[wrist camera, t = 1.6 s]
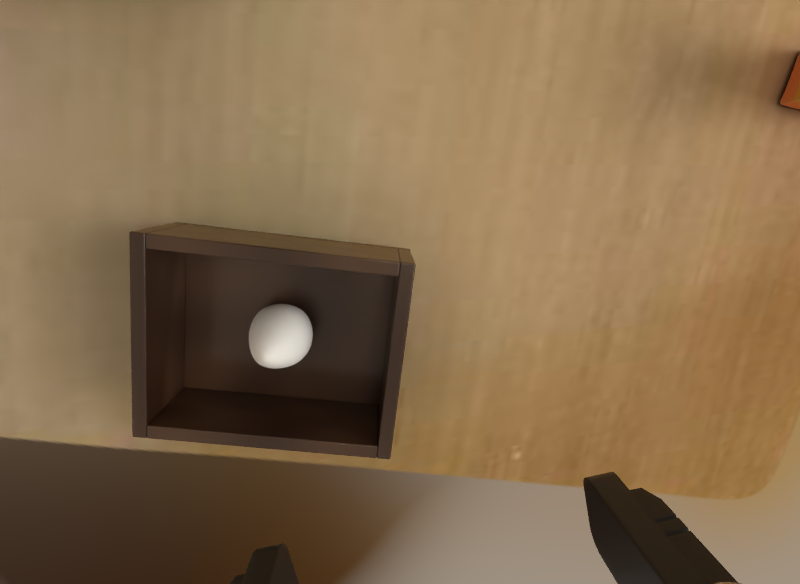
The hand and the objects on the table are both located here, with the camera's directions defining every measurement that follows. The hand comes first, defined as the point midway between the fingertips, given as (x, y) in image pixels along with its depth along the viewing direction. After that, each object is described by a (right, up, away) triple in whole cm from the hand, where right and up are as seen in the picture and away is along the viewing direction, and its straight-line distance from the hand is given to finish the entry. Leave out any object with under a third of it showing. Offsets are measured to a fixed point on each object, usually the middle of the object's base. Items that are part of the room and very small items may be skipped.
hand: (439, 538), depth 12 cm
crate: (-8, +4, +18) cm, 20 cm away
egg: (-8, +4, +18) cm, 20 cm away
